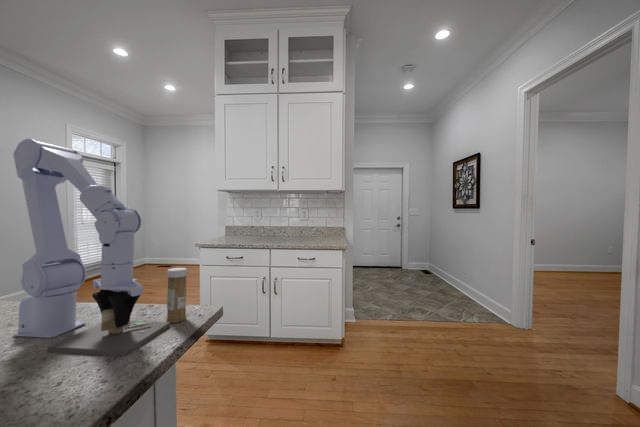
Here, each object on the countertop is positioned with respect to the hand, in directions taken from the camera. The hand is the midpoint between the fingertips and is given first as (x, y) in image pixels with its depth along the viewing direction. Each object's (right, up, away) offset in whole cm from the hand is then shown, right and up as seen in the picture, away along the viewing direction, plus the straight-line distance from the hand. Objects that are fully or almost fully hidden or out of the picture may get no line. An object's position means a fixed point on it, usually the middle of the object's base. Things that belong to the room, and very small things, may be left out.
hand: (116, 324), depth 59 cm
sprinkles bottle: (+8, -4, +10) cm, 13 cm away
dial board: (0, -3, 0) cm, 3 cm away
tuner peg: (+2, -2, +1) cm, 3 cm away
